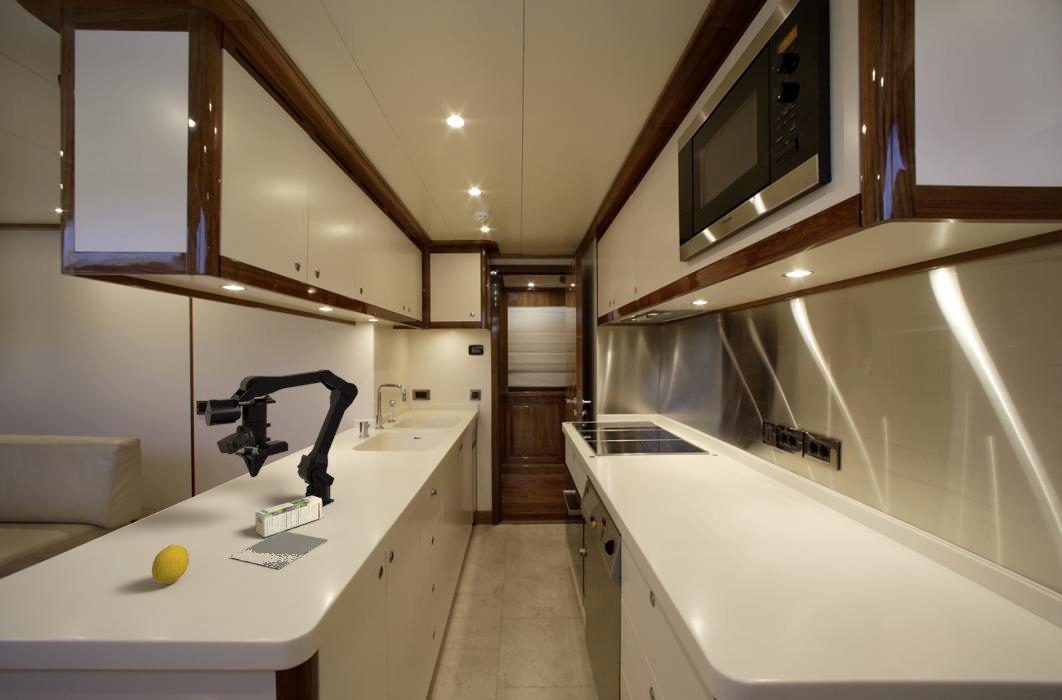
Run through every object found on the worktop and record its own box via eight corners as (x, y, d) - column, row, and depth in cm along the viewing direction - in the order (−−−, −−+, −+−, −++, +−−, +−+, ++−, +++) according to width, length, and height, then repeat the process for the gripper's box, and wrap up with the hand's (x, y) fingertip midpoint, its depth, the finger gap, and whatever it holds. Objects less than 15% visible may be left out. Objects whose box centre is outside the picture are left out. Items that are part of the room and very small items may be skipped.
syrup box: (255, 511, 98) (313, 493, 110) (255, 533, 98) (313, 514, 110) (263, 515, 95) (322, 497, 107) (264, 538, 95) (323, 517, 107)
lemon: (146, 595, 73) (146, 554, 73) (158, 580, 78) (158, 541, 78) (183, 587, 75) (183, 548, 76) (192, 573, 80) (193, 536, 80)
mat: (282, 532, 99) (282, 530, 99) (327, 541, 94) (327, 539, 94) (230, 558, 86) (230, 556, 86) (279, 569, 82) (279, 567, 82)
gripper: (198, 423, 99) (197, 482, 99) (249, 428, 94) (249, 490, 93) (241, 417, 110) (241, 470, 110) (290, 420, 104) (289, 476, 104)
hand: (253, 476), depth 104 cm, fingers closed
